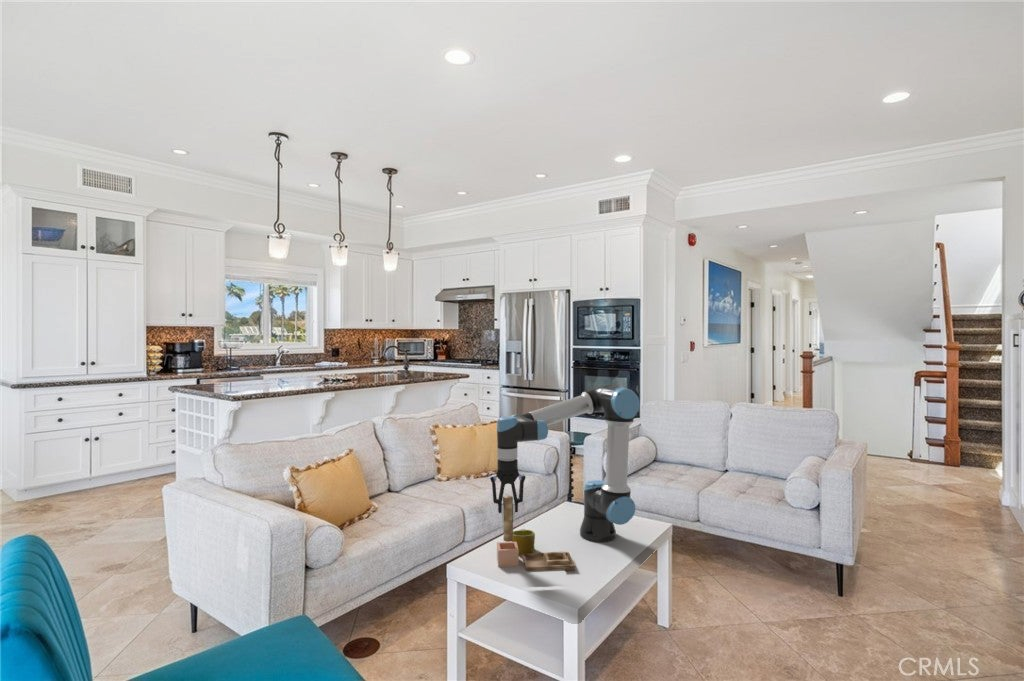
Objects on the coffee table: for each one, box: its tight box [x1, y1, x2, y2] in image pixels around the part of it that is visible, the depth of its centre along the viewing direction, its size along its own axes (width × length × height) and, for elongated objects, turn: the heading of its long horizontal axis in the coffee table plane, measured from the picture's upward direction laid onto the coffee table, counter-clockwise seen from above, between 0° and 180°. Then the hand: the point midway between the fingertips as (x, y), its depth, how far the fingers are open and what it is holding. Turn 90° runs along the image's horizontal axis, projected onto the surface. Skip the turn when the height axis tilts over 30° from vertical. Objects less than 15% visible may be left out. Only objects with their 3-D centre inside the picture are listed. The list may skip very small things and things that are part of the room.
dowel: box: [502, 495, 514, 542], centre depth 201 cm, size 4×4×16 cm
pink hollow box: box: [496, 541, 520, 568], centre depth 201 cm, size 8×8×7 cm
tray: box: [521, 551, 576, 573], centre depth 200 cm, size 18×12×3 cm, turn 96°
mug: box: [510, 528, 536, 556], centre depth 213 cm, size 12×10×10 cm
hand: (508, 520), depth 201 cm, fingers closed on dowel, 3 cm apart
